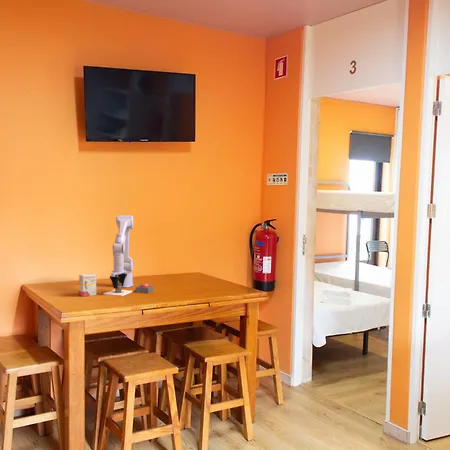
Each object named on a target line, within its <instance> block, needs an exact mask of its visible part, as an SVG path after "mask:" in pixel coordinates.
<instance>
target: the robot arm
mask: <svg viewBox="0 0 450 450" xmlns="http://www.w3.org/2000/svg"><path fill="white" fill-rule="evenodd" d="M115 219H116V220H115V223H116V226H117V228H118V233H117V234H115V239H114V243H113V244H112V256H113V270H111V273H110V275H109V279H110V281H111V284H112V287H113V289H115V288H116V289H117V288H118V283H122V286H121V288H125V289H127V288H130V287H132V286H135V284H133V283H134V282H133V281H134V279H133V278H134V277H133V273H132V272H133V270H134V260H133V258H132V257H130V253H129V252H130V251H129V250H130V232H131V230H133V229H134V216H133V215H131V214H130V215H128V214H127V215H126V214H125V215H123V214H122V215H121V214H117V216H116V218H115Z"/></svg>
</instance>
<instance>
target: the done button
mask: <svg viewBox="0 0 450 450" xmlns="http://www.w3.org/2000/svg"><path fill="white" fill-rule="evenodd" d="M140 285H141V287H148V285H149V283H145V282H144V283H143V282H142V283H140Z"/></svg>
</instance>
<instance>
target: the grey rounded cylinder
mask: <svg viewBox="0 0 450 450" xmlns="http://www.w3.org/2000/svg"><path fill="white" fill-rule="evenodd" d="M121 286H122V283H119V282H118V288H117V289H116V288H114V289H115V292H116V293H120V292H121V290H122V287H121Z"/></svg>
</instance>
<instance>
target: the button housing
mask: <svg viewBox="0 0 450 450" xmlns="http://www.w3.org/2000/svg"><path fill="white" fill-rule="evenodd" d="M151 292H154V285H149V284H148V287H141V284H140V285H138V286H135V293H143V294H150V293H151Z"/></svg>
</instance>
